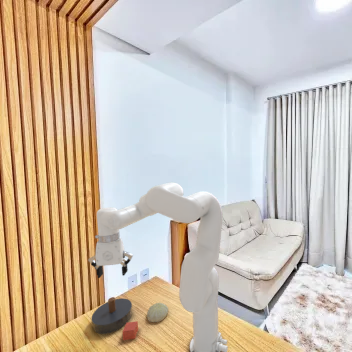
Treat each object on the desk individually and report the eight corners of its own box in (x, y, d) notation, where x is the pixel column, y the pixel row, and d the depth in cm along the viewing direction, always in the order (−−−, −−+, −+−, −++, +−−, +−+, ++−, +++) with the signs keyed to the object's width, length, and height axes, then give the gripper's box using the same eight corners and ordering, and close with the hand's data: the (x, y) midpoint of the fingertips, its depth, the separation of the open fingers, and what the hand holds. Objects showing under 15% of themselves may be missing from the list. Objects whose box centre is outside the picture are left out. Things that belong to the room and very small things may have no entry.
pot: (138, 313, 96) (138, 304, 96) (110, 339, 83) (109, 329, 82) (116, 305, 101) (115, 297, 101) (85, 329, 88) (84, 319, 87)
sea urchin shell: (163, 301, 101) (166, 296, 96) (168, 318, 98) (172, 314, 93) (143, 310, 96) (146, 305, 91) (148, 328, 92) (151, 325, 87)
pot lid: (139, 305, 96) (138, 292, 95) (108, 332, 82) (107, 316, 81) (115, 297, 102) (114, 284, 101) (83, 321, 87) (81, 306, 87)
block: (138, 330, 87) (137, 321, 86) (134, 339, 82) (134, 329, 82) (127, 332, 86) (126, 322, 86) (123, 341, 82) (122, 331, 81)
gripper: (81, 242, 82) (85, 282, 84) (128, 239, 85) (130, 278, 87) (91, 235, 89) (95, 272, 91) (134, 232, 92) (136, 268, 94)
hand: (112, 275), depth 89 cm, fingers open, 9 cm apart
